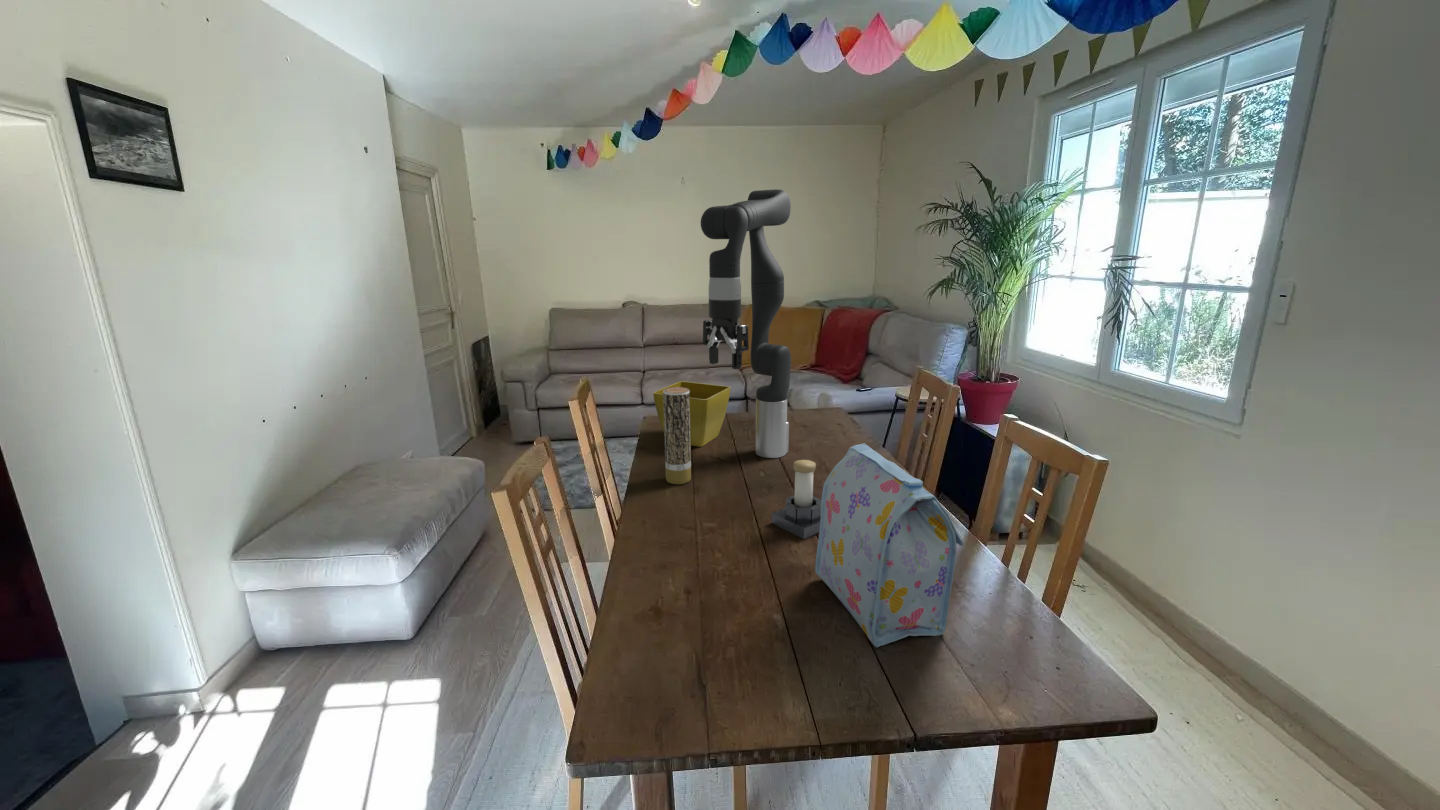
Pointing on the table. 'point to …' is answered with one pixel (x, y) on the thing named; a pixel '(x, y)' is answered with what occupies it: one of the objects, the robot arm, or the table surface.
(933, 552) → the lunch bag
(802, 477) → the white beige cylinder
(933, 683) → the table surface
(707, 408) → the flower pot
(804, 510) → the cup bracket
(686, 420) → the paper tube
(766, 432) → the robot arm
